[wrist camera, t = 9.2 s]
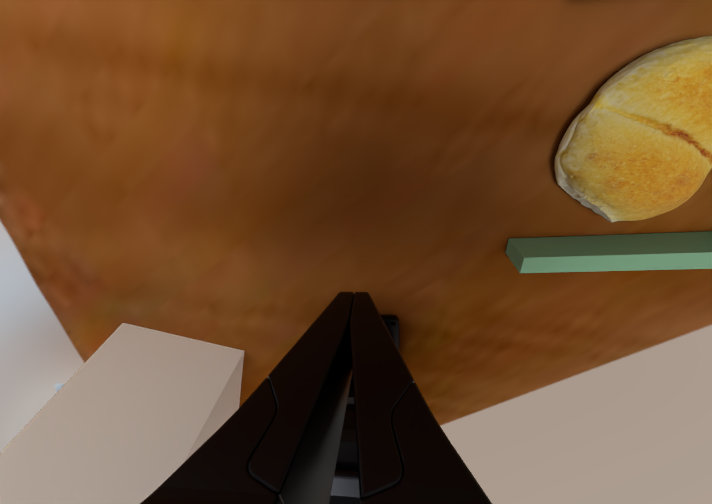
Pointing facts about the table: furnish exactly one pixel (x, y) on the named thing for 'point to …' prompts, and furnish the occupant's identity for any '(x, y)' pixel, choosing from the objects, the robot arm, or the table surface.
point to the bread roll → (643, 135)
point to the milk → (123, 421)
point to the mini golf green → (612, 252)
